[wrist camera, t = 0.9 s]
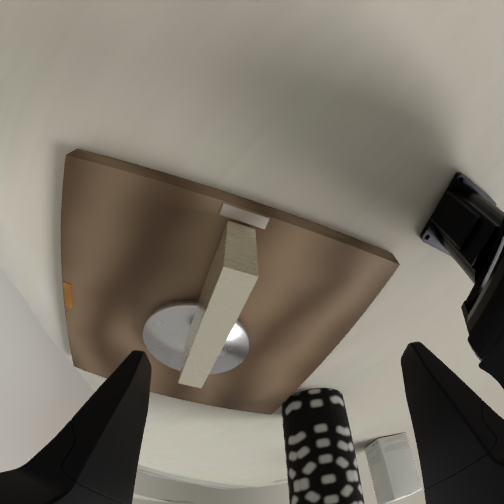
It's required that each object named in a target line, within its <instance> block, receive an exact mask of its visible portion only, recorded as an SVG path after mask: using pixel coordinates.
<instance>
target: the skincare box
mask: <svg viewBox="0 0 504 504" xmlns="http://www.w3.org/2000/svg"><path fill="white" fill-rule="evenodd" d="M365 453H366V456H367V460H368V465H369V468H370V472H371V476H372V480H373V485H374V490H375V494H376V498H377V503H378V504H386V503H390V502H393V501H396V500H398V499H401V498H404V497H407V496H409V495H411V494H413V493H415V492H417V491H420V490H421V489H423V486H422V482H421V479H420V475H419V472H418V468H417V465H416V462H415V459H414V456H413V452H412V449H411V446H410V443H409V440H408V437H407V434H406V432H405V433H401V434H397V435H392V436H387V437H382V438H378V439H376V440H375V441H373V442H372V443H371V444H369V445H368V446H367V447H366V448H365Z"/></svg>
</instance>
